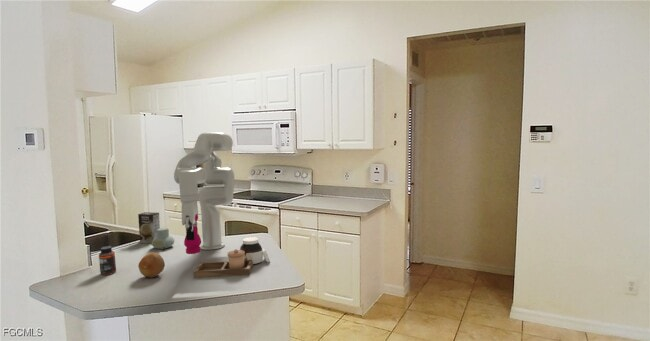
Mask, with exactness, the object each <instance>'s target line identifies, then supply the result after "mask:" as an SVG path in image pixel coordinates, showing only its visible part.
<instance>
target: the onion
mask: <svg viewBox="0 0 650 341" xmlns="http://www.w3.org/2000/svg"><path fill="white" fill-rule="evenodd" d="M165 264H166V263H165V261H164V259H163V257H162V256H161V254H159V253H157V252H154V251H152V252H149V253H147V254H145V255H144V256H143V257H142V258H141V259H140V261H139V263H138V265H137V266H138V270H139V272H140V274H141V275H142V276H144V277H147V278H154V277H157V276H158V275H160V274H162V272H163V271H164V269H165V266H166V265H165Z"/></svg>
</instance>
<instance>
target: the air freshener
mask: <svg viewBox="0 0 650 341" xmlns="http://www.w3.org/2000/svg"><path fill="white" fill-rule="evenodd" d="M169 229H170V228H168V227H160V228H159V229H157V230H156V231H157V237H156V238H155V239H154V240H153V241H152V243H151V246H152V247H153V248H155V249H157V250H165V249H167V248H170V247H172V246H173V245H174V243H175V238H174V237H173V236H171V235H170V232H169V231H170V230H169Z"/></svg>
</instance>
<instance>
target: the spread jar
mask: <svg viewBox="0 0 650 341" xmlns="http://www.w3.org/2000/svg"><path fill="white" fill-rule="evenodd" d="M239 250H243V251H245V254H244V260H252V263H253V266H256V265H259V264H261V263H262V262H263V261H264V260H265V261H266V263H270V262H271V260H270V258H269V254H268V253H267V251H266V249H265V248H262V246H261V244H260V243H259V238H258V237H255V236H251V237H246V238H243V239H242V244H241V245H240V248H239ZM263 259H264V260H263Z"/></svg>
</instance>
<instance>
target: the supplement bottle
mask: <svg viewBox="0 0 650 341" xmlns="http://www.w3.org/2000/svg"><path fill="white" fill-rule="evenodd" d="M98 261H99V262H98V264H99V273H100V275H102V276H106V275H107V276H108V275H112V274H115V273H116V272H117V265H116V255H115V251H113V249H112V246H111V245H109V246H108V245H107V246H102V247H101V248H100V252H99V254H98Z"/></svg>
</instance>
